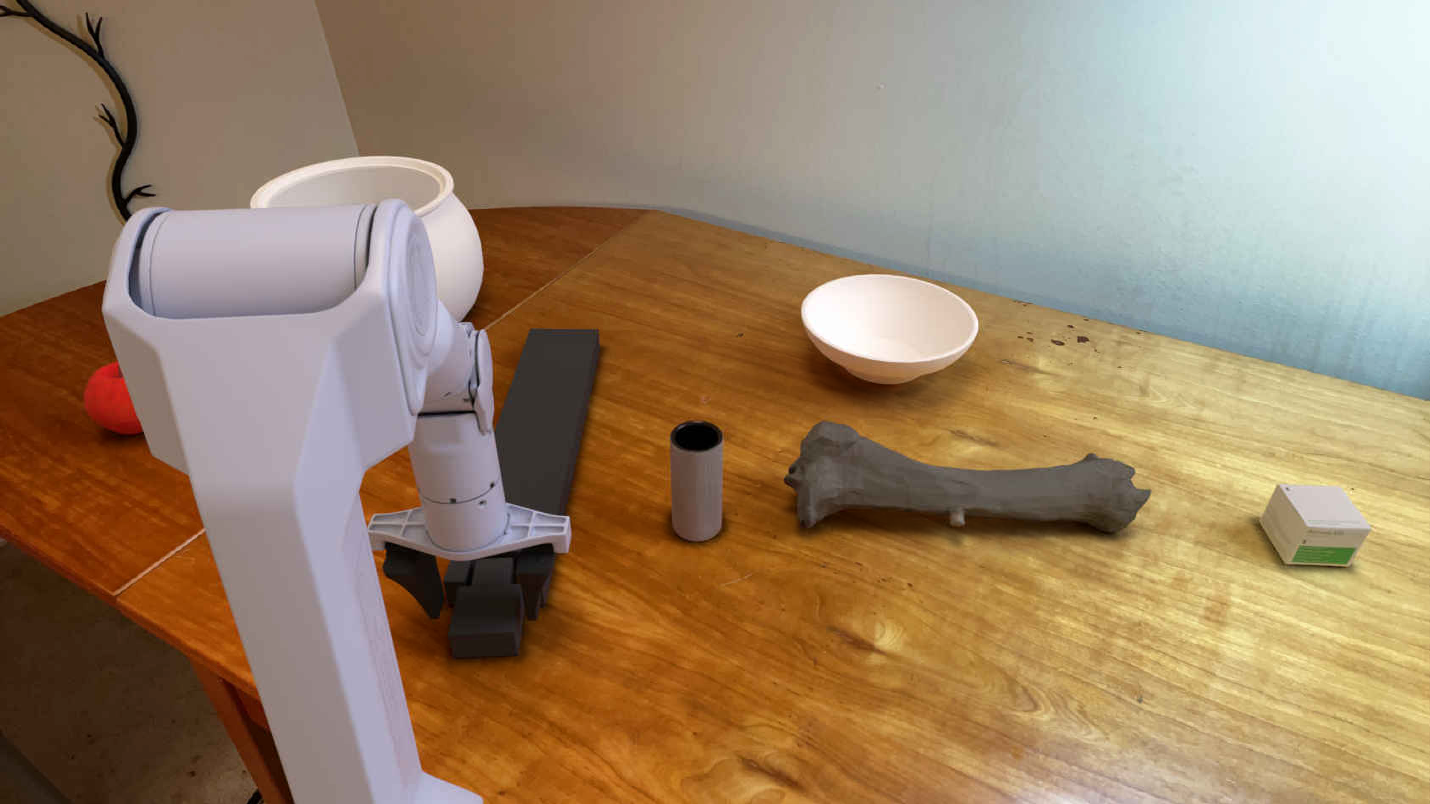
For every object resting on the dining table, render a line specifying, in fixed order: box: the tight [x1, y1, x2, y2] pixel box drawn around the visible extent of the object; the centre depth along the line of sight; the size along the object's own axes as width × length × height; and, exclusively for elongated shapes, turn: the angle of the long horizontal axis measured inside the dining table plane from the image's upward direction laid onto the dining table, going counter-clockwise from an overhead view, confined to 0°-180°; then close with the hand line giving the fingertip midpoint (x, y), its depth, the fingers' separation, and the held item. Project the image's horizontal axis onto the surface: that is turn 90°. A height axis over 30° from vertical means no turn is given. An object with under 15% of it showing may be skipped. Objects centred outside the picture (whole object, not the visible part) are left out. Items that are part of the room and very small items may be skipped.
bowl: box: [800, 273, 979, 385], centre depth 103 cm, size 20×20×7 cm
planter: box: [669, 419, 724, 542], centre depth 80 cm, size 4×4×10 cm
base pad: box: [442, 328, 601, 607], centre depth 90 cm, size 40×8×3 cm, turn 179°
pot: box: [249, 155, 485, 323], centre depth 110 cm, size 29×26×16 cm
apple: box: [83, 360, 144, 436], centre depth 92 cm, size 8×8×7 cm
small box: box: [1258, 483, 1372, 568], centre depth 80 cm, size 6×6×5 cm
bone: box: [783, 420, 1152, 534], centre depth 82 cm, size 32×10×9 cm, turn 87°
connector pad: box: [447, 558, 525, 659], centre depth 73 cm, size 8×5×3 cm, turn 4°
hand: (485, 610), depth 71 cm, fingers open, 7 cm apart
